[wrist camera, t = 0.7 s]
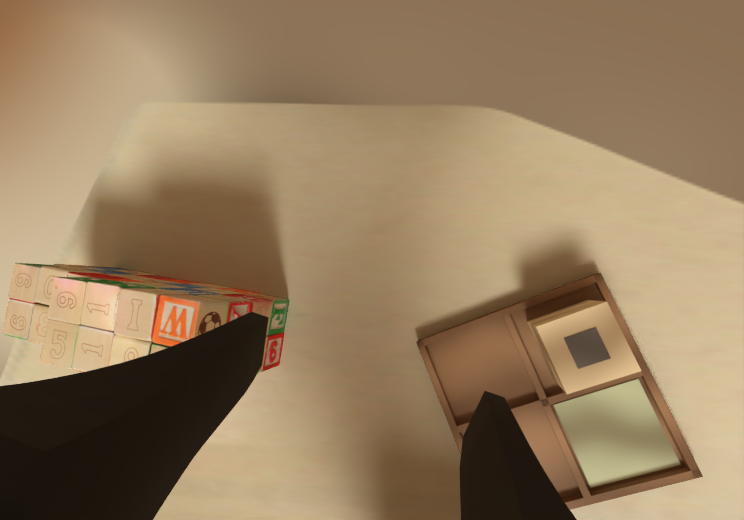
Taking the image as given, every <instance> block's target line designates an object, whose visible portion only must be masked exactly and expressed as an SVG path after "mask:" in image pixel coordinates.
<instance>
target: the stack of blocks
mask: <svg viewBox="0 0 744 520" xmlns="http://www.w3.org/2000/svg"><path fill="white" fill-rule="evenodd" d="M9 298H10V299H9V302H8V307H7V312H6V318H5V323H4V329H3V334H4V335H9V336H13V337H17V338H20V339H26V340H28V341H30V342H34V343H38V344H42V345H43V348H42V353H41V359H40V361H41V362H44V363H47V364H51V365H56V366H59V367H63V368H67V369H70V370H71V369H75V370H78V371H81V372H86V371H91V370H95V369H99V368H103V367H107V366H111V365H115V364H119V363H123V362H126V361H129V360H133V359H136V358H139V357H143V356H146V355H149V354H152V353H155V352H158V351H160V350H163V349H166V348H168V347H171V346H174V345H176V344H179V343H181V342H184V341H186V340H189V339H191V338H194V337H196V336H199V335H201V334H203V333H205V332H208V331H210V330H212V329H214V328H217V327H219V326H221V325H223V324H225V323H228V322H230V321H232V320H234V319H236V318H238V317H241V316H243V315H245V314H247V313H250V312H254V313H257V314H260V315H263V316H266V317H269V319H268V326H267V333H266V340H265V348H264V355H263V362H262V366H261V368H260V370H259V371H258V372H262V371H265V370H268V369H270V368H273V367H276V366H278V365H279V363H280V357H281V351H282V345H283V338H284V329H285V323H286V317H287V311H288V305H289V300H288V299H284V298H278V297H273V296H268V295H263V294H261V293H256V292H251V291H245V290H240V289H234V288H230V287H225V286H219V285H214V284H202V283H196V282H190V281H185V280H176V279H170V278H165V277H159V276H158V275H155V274H150V273H144V272H139V271H131V270H125V269H119V268H112V267H94V266H82V265H64V264H54V265H41V264H23V263H15V266H14V271H13V277H12V282H11V287H10V291H9Z"/></svg>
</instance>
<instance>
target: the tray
mask: <svg viewBox="0 0 744 520" xmlns="http://www.w3.org/2000/svg"><path fill="white" fill-rule="evenodd" d="M585 300H594V301H606V302H607V303H608V305H609V307H610V309H611V311H612V313H613V315H614V317H615V319H616V321H617V323H618V325H619V327H620V329H621V331H622V333H623V335H624V337H625V339H626V341H627V343H628V345H629V347H630V349H631V351H632V353H633V355H634V357H635V359H636V361H637V363H638V365H639V367H640V369H641V371H640V372H637V373H634V374H631V375H627V376H624V377H621V378H618V379H615V380H612V381H608V382H605V383H602V384H599V385H596V386H592V387H589V388H586V389H583V390H580V391H576V392H573V393H570V394H566V393H565V392H564V391H563V389H562V388H561V387H560V386H559V385H558V384H557V383H556V381H555V380H554V379H553V378H552V375H551V373H550V371H549V369H548V367H547V364H546V362H545V360H544V358H543V356H542V354H541V351H540V349H539V347H538V345H537V343H536V340H535V338H534V336H533V334H532V332H531V329H530V327H529V325H528V323H527V321H530V320H533V319H535V318H538V317H541V316H544V315H546V314H549V313H552V312H555V311H557V310H560V309H563V308H566V307H568V306H571V305H574V304H577V303H579V302H582V301H585ZM417 345H418V347H419V350H420V352H421V355H422V357H423V360H424V363H425V365H426V368H427V370H428V373H429V375H430V378H431V380H432V383H433V385H434V388H435V390H436V393H437V395H438V398H439V400H440V403H441V405H442V408H443V410H444V413H445V415H446V418H447V420H448V423H449V425H450V428H451V430H452V433H453V435H454V438H455V441H456V443H457V446H458V448H459V451H460V453H461V450H462V440H463V435H464V433H465V431H466V429H467V427H468V425H469V423H470V421H471V418H472V416H473V414H474V412H475V410H476V408H477V406H478V404H479V402H480V400H481V397H482V395H483V393H484V391H487V392H490V393H493V394H496V395H499V396H502V397H505V399H506V401H507V403H508V405H509V407H510V409H511V411H512V413H513V415H514V416H515V418H516V420H517V422H518V424H519V426H520V428H521V430H522V432H523V434H524V436H525V437H526V439H527V441H528V443H529V445H530V447H531V448H532V450H533V452H534V454H535V455H536V457H537V459H538V461H539V462H540V464H541V466H542V467H543V469H544V471H545V472H546V474H547V476H548V477H549V479H550V480H551V482H552V484H553V485H554V487H555V488H556V490H557V492H558V493H559V495H560V496H561V498H562V499H563V501H564V502H565V504H566V505H567V507H568V508H569V510H570V509H574V508H578V507H582V506H586V505H590V504H594V503H598V502H602V501H606V500H610V499H614V498H618V497H622V496H626V495H630V494H635V493H639V492H643V491H647V490H651V489H655V488H659V487H663V486H667V485H671V484H675V483H679V482H683V481H687V480H691V479H695V478H699V477H703V476H702V474H701V472H700V470H699V468H698V466H697V464H696V462H695V460H694V458H693V456H692V454H691V452H690V450H689V448H688V446H687V444H686V442H685V440H684V438H683V436H682V434H681V432H680V430H679V428H678V426H677V424H676V422H675V420H674V418H673V416H672V414H671V412H670V410H669V408H668V406H667V404H666V402H665V400H664V398H663V396H662V394H661V392H660V390H659V388H658V386H657V384H656V382H655V380H654V378H653V376H652V374H651V372H650V371H649V369H648V367H647V365H646V363H645V361H644V359H643V357H642V355H641V353H640V351H639V349H638V347H637V345H636V343H635V341H634V339H633V337H632V335H631V333H630V331H629V329H628V327H627V325H626V323H625V321H624V319H623V317H622V315H621V313H620V311H619V309H618V307H617V305H616V303H615V301H614V299H613V297H612V295H611V293H610V291H609V289H608V287H607V285H606V283H605V281H604V279H603V277H602V275H601V273H598V274H594V275H592V276H589V277H586V278H584V279H581V280H578V281H576V282H573V283H570V284H568V285H565V286H562V287H560V288H557V289H554V290H552V291H549V292H546V293H544V294H541V295H538V296H536V297H533V298H530V299H527V300H525V301H522V302H519V303H517V304H514V305H511V306H509V307H506V308H503V309H501V310H498V311H495V312H493V313H490V314H487V315H485V316H482V317H479V318H477V319H474V320H471V321H469V322H466V323H463V324H461V325H458V326H455V327H453V328H450V329H447V330H445V331H442V332H439V333H437V334H434V335H431V336H429V337H426V338H423V339H421V340H418V341H417Z"/></svg>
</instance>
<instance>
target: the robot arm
mask: <svg viewBox="0 0 744 520" xmlns="http://www.w3.org/2000/svg"><path fill="white" fill-rule="evenodd" d="M268 319H269V317H266V316H263V315H260V314H257V313H254V312H250V313H247V314H245V315H243V316H241V317H238V318H236V319H234V320H232V321H230V322H228V323H225V324H223V325H221V326H219V327H217V328H214V329H212V330H210V331H208V332H205V333H203V334H201V335H199V336H196V337H194V338H191V339H189V340H186V341H184V342H181V343H179V344H176V345H174V346H171V347H168V348H166V349H163V350H160V351H158V352H155V353H152V354H149V355H146V356H143V357H139V358H136V359H133V360H129V361H126V362H123V363H119V364H115V365H111V366H107V367H103V368H99V369H95V370H91V371H86V372H82V373H78V374H73V375H68V376H63V377H58V378H52V379H46V380H41V381H35V382H28V383H22V384H15V385H6V386H0V520H153V518H154V517H155V515H156V514H157V512H158V511H159V509H160V507H161V506H162V504H163V503H164V501H165V500H166V498H167V496H168V495H169V493H170V492H171V490H172V489H173V487H174V486H175V484H176V483H177V481H178V480H179V478H180V477H181V475H182V474H183V472H184V471H185V469H186V468H187V466H188V465H189V463H190V462H191V460H192V459H193V458H194V456H195V455H196V454H197V452H198V451H199V450H200V448H201V447H202V446H203V445H204V443H205V442H206V441H207V440H208V438H209V437H210V436H211V435H212V433H213V432H214V431H215V430H216V429H217V427H218V426H219V425H220V424H221V422H222V421H223V420H224V419H225V417H226V416H227V415H228V414H229V412H230V411H231V410H232V409H233V407H234V406H235V405H236V404H237V402H238V401H239V400H240V399H241V397H242V396H243V395H244V393H245V392H246V391H247V389H248V388H249V386H250V384H251V383H252V381H253V380H254V378H255V376H256V375H257V373H258V371H259V370H260V368H261V366H262V362H263V355H264V348H265V340H266V333H267V326H268ZM460 497H461V520H577V519H576V518H575V517H574V515H573V514H572V512H571V511H570V510H569V508H568V507H567V505H566V504H565V502H564V501H563V499H562V498H561V496H560V495H559V493H558V492H557V490H556V488H555V487H554V485H553V484H552V482H551V480H550V479H549V477H548V476H547V474H546V472H545V471H544V469H543V467H542V466H541V464H540V462H539V461H538V459H537V457H536V455H535V454H534V452H533V450H532V448H531V447H530V445H529V443H528V441H527V439H526V437H525V436H524V434H523V432H522V430H521V428H520V426H519V424H518V422H517V420H516V418H515V416H514V415H513V413H512V411H511V409H510V407H509V405H508V403H507V401H506V399H505V397H502V396H499V395H496V394H493V393H490V392H487V391H484V393H483V395H482V397H481V400H480V402H479V404H478V406H477V408H476V410H475V412H474V414H473V416H472V418H471V421H470V423H469V425H468V427H467V429H466V431H465V433H464V435H463V440H462V450H461V461H460Z"/></svg>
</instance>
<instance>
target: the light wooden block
mask: <svg viewBox="0 0 744 520" xmlns="http://www.w3.org/2000/svg"><path fill="white" fill-rule="evenodd" d="M527 323H528V325H529V327H530V329H531V332H532V334H533V336H534V338H535V340H536V343H537V345H538V347H539V349H540V351H541V354H542V356H543V358H544V360H545V362H546V364H547V367H548V369H549V371H550V373H551V375H552V378H553V379H554V380H555V381H556V383H557V384H558V385H559V386H560V387H561V388H562V389H563V391H564V392H565V393H566V394H570V393H573V392H576V391H580V390H583V389H586V388H589V387H592V386H596V385H599V384H602V383H605V382H608V381H612V380H615V379H618V378H621V377H624V376H627V375H631V374H634V373H637V372H640V371H641V369H640V367H639V365H638V363H637V361H636V359H635V357H634V355H633V353H632V351H631V349H630V347H629V345H628V343H627V341H626V339H625V337H624V335H623V333H622V331H621V329H620V327H619V325H618V323H617V321H616V319H615V317H614V315H613V313H612V311H611V309H610V307H609V305H608V303H607V302H606V301H594V300H585V301H582V302H579V303H577V304H574V305H571V306H568V307H566V308H563V309H560V310H557V311H555V312H552V313H549V314H546V315H544V316H541V317H538V318H535V319H533V320H530V321H527Z"/></svg>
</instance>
